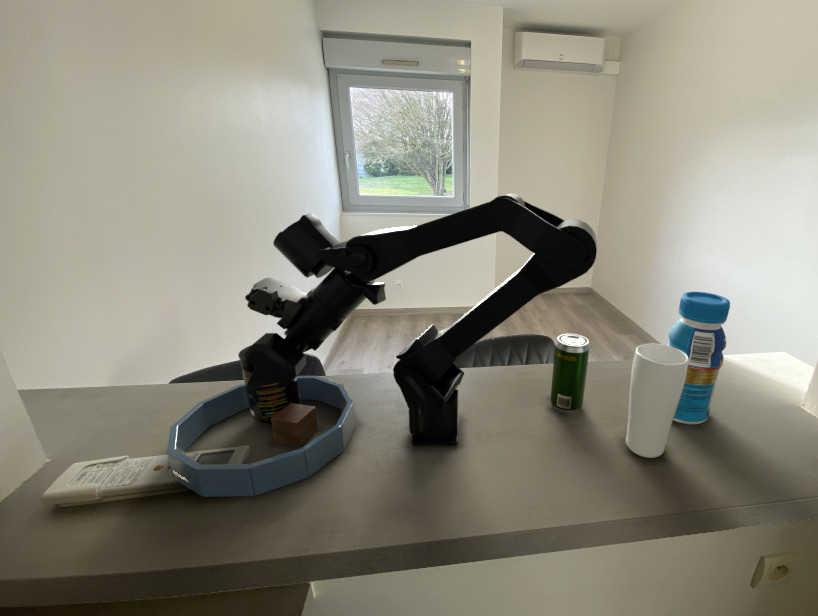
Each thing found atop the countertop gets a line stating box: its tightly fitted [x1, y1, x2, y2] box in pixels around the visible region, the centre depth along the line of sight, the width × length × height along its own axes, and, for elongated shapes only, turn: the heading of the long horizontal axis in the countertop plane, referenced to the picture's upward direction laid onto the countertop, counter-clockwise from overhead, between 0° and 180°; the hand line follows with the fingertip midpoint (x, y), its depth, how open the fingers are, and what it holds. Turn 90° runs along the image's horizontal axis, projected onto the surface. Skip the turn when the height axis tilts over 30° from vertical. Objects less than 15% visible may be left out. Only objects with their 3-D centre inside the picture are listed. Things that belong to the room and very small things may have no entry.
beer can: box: [549, 333, 590, 414], centre depth 66 cm, size 5×5×12 cm
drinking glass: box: [625, 342, 689, 459], centre depth 56 cm, size 7×7×15 cm
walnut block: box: [271, 403, 319, 448], centre depth 57 cm, size 4×4×4 cm
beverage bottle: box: [666, 291, 731, 425], centre depth 64 cm, size 8×8×20 cm
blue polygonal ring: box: [166, 375, 356, 498], centre depth 57 cm, size 22×22×4 cm
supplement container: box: [238, 344, 302, 425], centre depth 59 cm, size 7×7×10 cm
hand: (262, 373), depth 59 cm, fingers closed on supplement container, 7 cm apart
